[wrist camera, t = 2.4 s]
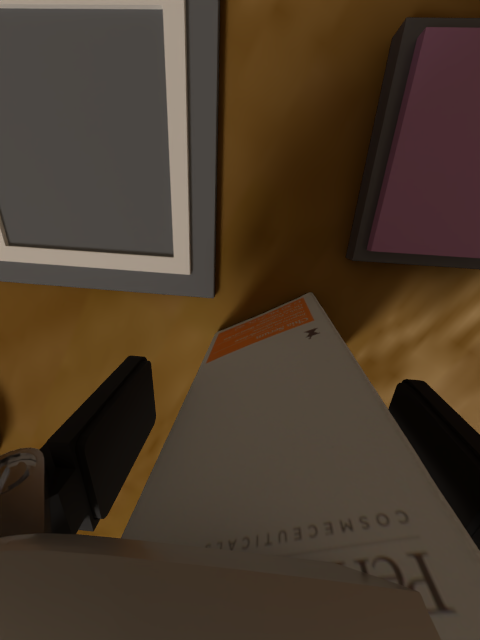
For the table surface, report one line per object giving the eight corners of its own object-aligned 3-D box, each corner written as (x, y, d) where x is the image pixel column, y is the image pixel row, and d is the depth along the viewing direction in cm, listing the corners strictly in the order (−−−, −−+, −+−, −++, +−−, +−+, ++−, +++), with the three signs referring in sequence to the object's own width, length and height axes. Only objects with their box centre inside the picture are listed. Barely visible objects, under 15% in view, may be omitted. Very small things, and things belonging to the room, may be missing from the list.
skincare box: (310, 287, 13) (612, 699, 2) (337, 353, 14) (612, 834, 3) (210, 331, 14) (29, 707, 3) (243, 387, 16) (193, 796, 4)
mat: (221, -61, 9) (218, -81, 8) (214, 296, 13) (212, 299, 13) (-115, -58, 9) (-139, -75, 9) (-7, 278, 14) (-18, 280, 14)
